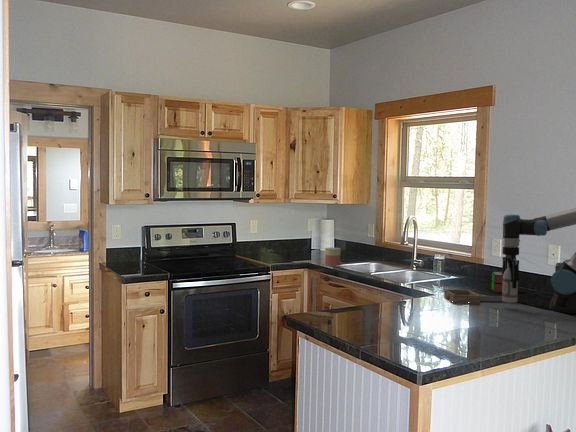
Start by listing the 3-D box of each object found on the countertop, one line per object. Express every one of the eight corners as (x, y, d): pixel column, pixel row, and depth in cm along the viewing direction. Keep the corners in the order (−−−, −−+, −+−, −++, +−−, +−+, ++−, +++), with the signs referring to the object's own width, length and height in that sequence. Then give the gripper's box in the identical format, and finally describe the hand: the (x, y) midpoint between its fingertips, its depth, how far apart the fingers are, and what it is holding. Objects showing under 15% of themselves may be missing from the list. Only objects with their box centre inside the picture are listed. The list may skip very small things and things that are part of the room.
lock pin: (517, 302, 284) (518, 281, 283) (475, 301, 283) (475, 280, 282) (513, 300, 288) (514, 279, 287) (472, 299, 288) (472, 278, 287)
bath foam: (499, 300, 272) (499, 260, 271) (510, 299, 274) (511, 259, 273) (508, 303, 266) (509, 262, 265) (520, 302, 268) (521, 261, 267)
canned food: (343, 264, 403) (343, 248, 402) (335, 266, 393) (336, 249, 392) (329, 263, 409) (329, 247, 408) (321, 265, 399) (322, 248, 398)
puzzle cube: (512, 293, 309) (513, 275, 308) (494, 292, 311) (494, 274, 310) (509, 289, 319) (510, 272, 318) (491, 288, 321) (492, 271, 320)
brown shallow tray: (479, 304, 278) (480, 295, 277) (453, 304, 277) (453, 295, 277) (469, 298, 293) (469, 289, 293) (443, 297, 293) (444, 289, 293)
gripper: (527, 248, 259) (526, 297, 260) (509, 244, 279) (509, 289, 280) (511, 248, 259) (510, 297, 260) (495, 244, 279) (494, 289, 280)
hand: (509, 293), depth 270 cm, fingers closed on bath foam, 7 cm apart
